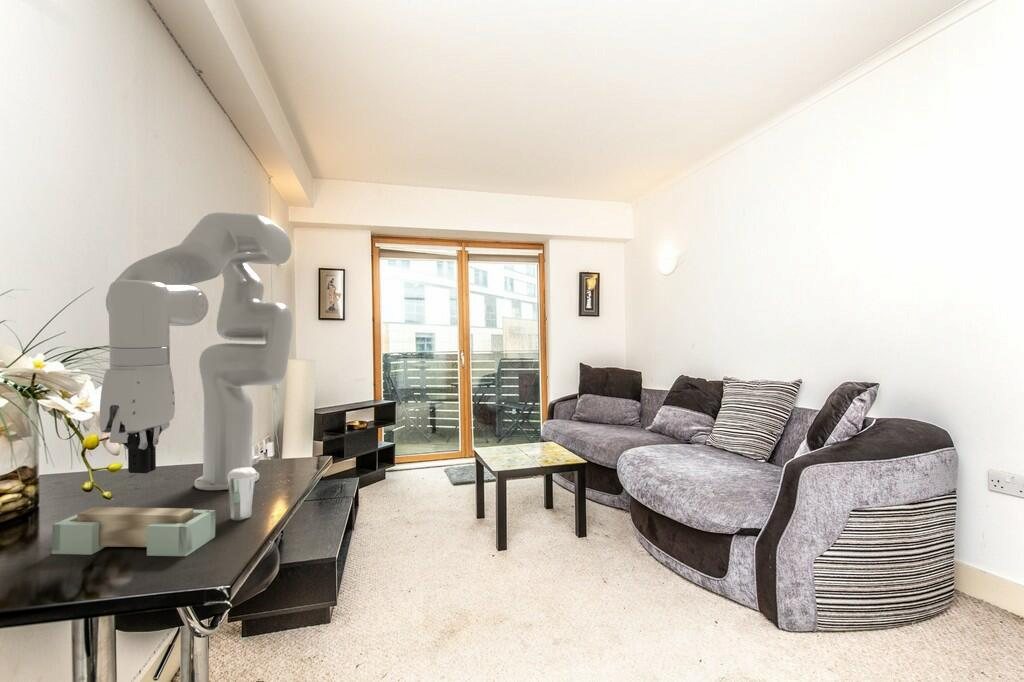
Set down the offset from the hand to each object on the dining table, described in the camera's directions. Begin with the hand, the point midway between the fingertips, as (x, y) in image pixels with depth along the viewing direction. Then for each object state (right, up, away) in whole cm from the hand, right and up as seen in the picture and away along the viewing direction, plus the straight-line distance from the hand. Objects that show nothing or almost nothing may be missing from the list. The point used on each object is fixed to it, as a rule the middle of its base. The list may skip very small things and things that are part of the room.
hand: (142, 471), depth 75 cm
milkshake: (+9, -12, +12) cm, 19 cm away
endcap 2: (+7, -12, -1) cm, 14 cm away
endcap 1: (-7, -11, -1) cm, 14 cm away
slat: (0, -11, -1) cm, 11 cm away
